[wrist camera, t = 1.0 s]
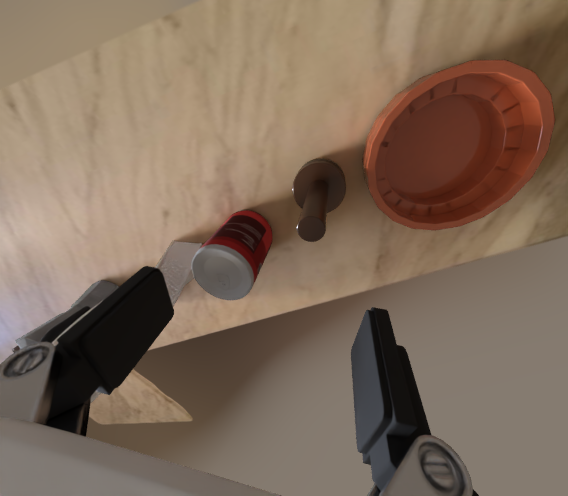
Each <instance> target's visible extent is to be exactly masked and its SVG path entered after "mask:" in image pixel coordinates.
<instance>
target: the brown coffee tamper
mask: <svg viewBox="0 0 568 496" xmlns="http://www.w3.org/2000/svg"><path fill="white" fill-rule="evenodd" d="M345 190H346V186H345V178H344V174H343V172H342V170H341V169H340V167H339V166H338V165H337V164H336V163H334V162H332V161H330V160H327V159H314V160H311V161H309V162H307V163H306V164H305V165H304V166H302V168H301V169H300V170H299V172H298V174H297V176H296V177H295V180H294V183H293V195H294V198H295V200H296V202H297V204H298V205H299V206H300V207H301V208H302V212H301V215H300V218H299V221H298V224H297V232H298V234H299V236H300V237H301V238H302V239H304V240H305V241H309V242H314V241H318V240H320V239H321V238H322V237H323V236H324V234H325V231H326V218H327V213H328V212H331V211H332V210H334V209H335V208H337V207H338V206H339V204H340V203H341V202H342V200H343V198H344V195H345Z"/></svg>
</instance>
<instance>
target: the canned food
mask: <svg viewBox="0 0 568 496" xmlns="http://www.w3.org/2000/svg"><path fill="white" fill-rule="evenodd" d="M271 244H272V230H271V227H270V225H269V223H268V222H267V221H266V219H265V218H264V217H262V216H261V215H260V214H258V213H256V212H253V211H248V210H245V211H240V212H236V213H234V214H233V215H231V216H230V217H229V218H228V219H227V220H226V221H225V222H224V224H223V225H222V226H221V227H220V228H219V229H218V230H217V231H216V232H215V233H214V234H213V235H212V236H211V237H210V238H209V239H208V240H207V241H206V242H205V243H204V244H203V245H202V247H201V248H200V249H199V250H198V251H197V252H196V254H195V255H194V257H193V259H192V263H191V269H192V273H193V275H194V278H195V279H196V281H197V282H198V284H199V285H200V286H201V287H202V288H203V289H204V290H205V291H207V292H208V293H210V294H211V295H213V296H215V297H218V298H221V299H225V300H238V299H241V298H243V297H244V296H246V295H247V294H248V293H249V291H250V290H251V288H252V286H253V284H254V282H255V280H256V278H257V276H258V274H259V271H260V269H261V267H262V265H263V262H264V260H265V258H266V256H267V253H268V251H269V249H270V247H271Z"/></svg>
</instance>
